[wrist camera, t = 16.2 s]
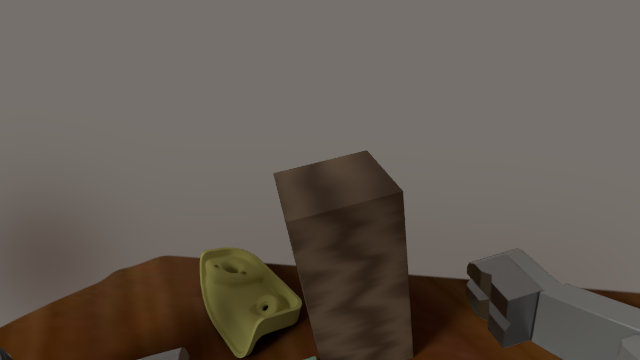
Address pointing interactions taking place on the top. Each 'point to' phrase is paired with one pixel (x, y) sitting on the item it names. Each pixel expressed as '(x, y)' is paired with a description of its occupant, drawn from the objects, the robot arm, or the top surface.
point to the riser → (350, 256)
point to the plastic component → (244, 298)
